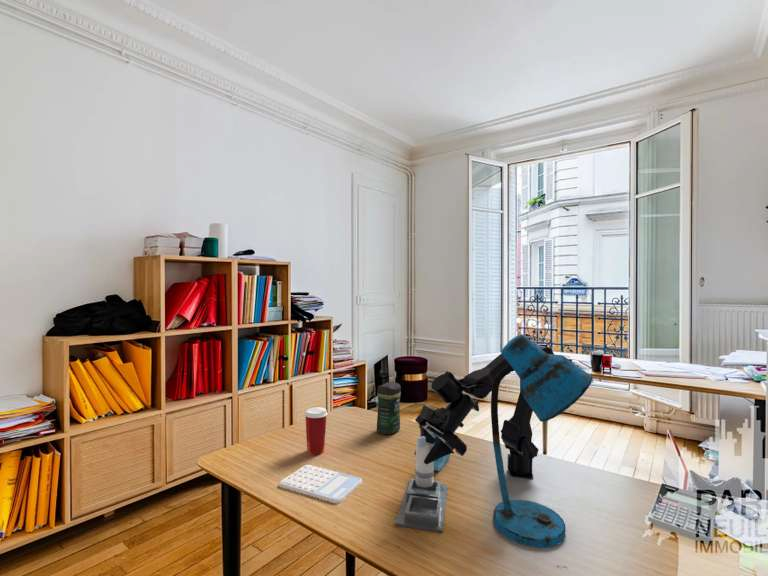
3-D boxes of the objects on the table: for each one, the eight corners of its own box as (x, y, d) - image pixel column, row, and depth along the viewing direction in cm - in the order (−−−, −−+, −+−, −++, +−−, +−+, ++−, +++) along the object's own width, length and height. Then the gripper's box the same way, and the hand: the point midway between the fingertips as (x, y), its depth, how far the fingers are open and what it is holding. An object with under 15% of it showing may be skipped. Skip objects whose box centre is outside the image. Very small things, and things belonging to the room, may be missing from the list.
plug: (427, 476, 109) (428, 432, 109) (437, 485, 104) (437, 438, 104) (411, 480, 107) (412, 434, 107) (420, 489, 102) (421, 441, 102)
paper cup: (331, 450, 134) (332, 409, 134) (316, 458, 127) (316, 415, 127) (314, 445, 138) (315, 405, 138) (298, 452, 131) (299, 411, 131)
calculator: (306, 468, 121) (306, 462, 121) (363, 483, 112) (363, 477, 112) (277, 488, 109) (277, 481, 109) (338, 506, 100) (338, 499, 100)
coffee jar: (391, 436, 146) (392, 387, 146) (373, 432, 150) (374, 384, 150) (403, 428, 155) (404, 381, 155) (385, 425, 159) (386, 379, 159)
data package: (438, 473, 118) (438, 433, 118) (424, 470, 120) (424, 430, 120) (450, 458, 129) (450, 421, 129) (437, 455, 131) (437, 419, 131)
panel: (447, 487, 110) (447, 479, 110) (442, 532, 90) (442, 522, 90) (409, 482, 112) (409, 474, 112) (395, 525, 92) (395, 516, 92)
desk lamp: (596, 561, 81) (599, 342, 81) (486, 536, 88) (488, 336, 88) (585, 518, 96) (587, 334, 96) (492, 500, 103) (494, 329, 103)
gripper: (421, 386, 116) (386, 429, 111) (457, 404, 98) (418, 455, 94) (443, 410, 119) (411, 452, 114) (482, 431, 102) (446, 481, 97)
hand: (420, 459), depth 105 cm, fingers closed on plug, 5 cm apart
